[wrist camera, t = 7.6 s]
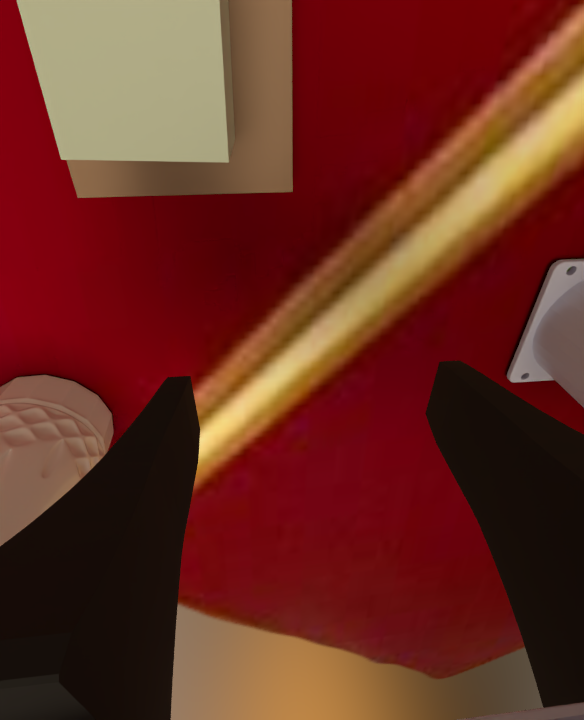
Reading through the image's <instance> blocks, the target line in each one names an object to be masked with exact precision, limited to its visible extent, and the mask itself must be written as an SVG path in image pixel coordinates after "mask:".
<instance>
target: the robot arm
mask: <svg viewBox="0 0 584 720" xmlns="http://www.w3.org/2000/svg"><path fill="white" fill-rule="evenodd" d="M570 267H571V269H570V270H569V271H568V272H567V270H568V268H570ZM524 373H525V374H524ZM507 378H508V379H509V380H510V381H511V382H530V381H546V380H555V381H556V382H557V383H558V384H559V385H560V386H562V387H563V388H564V389H565V390H566V391H567V392H568V393H569V394H570V395H571V396H572V397H573V398H574V399H575V400H576V401H577V402H578V403H579V404H580V405H582V406H583V407H584V259H565V260H558V261H556V262H555V263H553V264H552V265H551V267H550V269H549V271H548V274H547V276H546V279H545V281H544V283H543V286H542V288H541V291H540V293H539V296H538V298H537V301H536V303H535V306H534V308H533V311H532V313H531V316H530V318H529V321H528V323H527V326H526V328H525V331H524V333H523V336H522V338H521V341H520V343H519V346H518V348H517V350H516V353H515V355H514V358H513V360H512V363H511V365H510V368H509V370H508V373H507ZM426 416H427V419H428V422H429V425H430V428H431V430H432V433H433V436H434V438H435V441H436V443H437V445H438V447H439V449H440V451H441V453H442V455H443V457H444V459H445V460H446V462H447V464H448V466H449V468H450V470H451V472H452V474H453V475H454V477H455V479H456V481H457V483H458V485H459V486H460V488H461V490H462V492H463V494H464V496H465V497H466V499H467V501H468V503H469V505H470V507H471V509H472V510H473V513H474V515H475V517H476V519H477V521H478V523H479V525H480V527H481V530H482V532H483V534H484V537H485V539H486V542H487V544H488V546H489V549H490V551H491V554H492V556H493V559H494V561H495V564H496V566H497V569H498V572H499V574H500V577H501V579H502V582H503V585H504V587H505V590H506V592H507V595H508V598H509V601H510V604H511V607H512V609H513V612H514V615H515V618H516V621H517V624H518V627H519V630H520V632H521V635H522V638H523V642H524V645H525V648H526V651H527V654H528V658H529V661H530V664H531V667H532V670H533V673H534V677H535V680H536V683H537V687H538V690H539V693H540V697H541V701H542V704H543V707H544V708H539V709H532V710H524V711H517V712H509V713H503V714H495V715H488V716H480V717H473V718H466V719H459V720H584V435H583V434H581V433H580V432H578V431H576V430H574V429H572V428H570V427H568V426H566V425H565V424H563V423H561V422H559V421H558V420H556V419H554V418H552V417H551V416H549V415H547V414H545V413H544V412H542V411H540V410H539V409H537V408H535V407H534V406H532V405H530V404H529V403H527V402H525V401H524V400H522V399H521V398H519V397H517V396H516V395H514V394H513V393H511V392H510V391H508V390H506V389H505V388H503V387H502V386H500V385H499V384H497V383H496V382H494V381H492V380H491V379H489V378H488V377H486V376H485V375H483V374H481V373H480V372H478V371H477V370H475V369H474V368H472V367H470V366H469V365H467V364H465V363H463V362H461V361H444V362H439V366H438V370H437V373H436V377H435V381H434V384H433V388H432V392H431V396H430V399H429V403H428V407H427V410H426ZM199 438H200V426H199V421H198V416H197V410H196V405H195V399H194V394H193V389H192V383H191V378H190V376H183V377H168V378H167V379H166V380H165V381H164V382H163V384H162V385H161V386H160V388H159V389H158V391H157V392H156V393H155V395H154V396H153V397H152V399H151V400H150V401H149V403H148V404H147V405H146V407H145V408H144V409H143V411H142V412H141V413H140V414H139V416H138V417H137V418H136V419H135V421H134V422H133V423H132V424H131V426H130V427H129V428H128V429H127V431H126V432H125V433H124V434H123V435H122V436H121V438H120V439H119V440H118V441H117V442H116V443H115V444H114V445H113V446H112V448H111V449H110V450H109V451H108V452H107V453H106V454H105V455H104V457H103V458H102V459H101V460H100V461H99V462H98V463H97V464H96V465H95V466H94V467H93V468H92V469H91V470H90V471H89V472H88V473H87V474H86V475H85V476H84V477H83V478H82V479H81V480H80V481H79V482H78V483H77V484H76V485H74V486H73V487H72V488H71V489H70V490H69V491H68V492H67V493H66V494H65V495H63V496H62V497H61V498H60V499H59V500H58V501H56V502H55V503H54V504H53V505H52V506H50V507H49V508H48V509H47V510H46V511H44V512H43V513H42V514H41V515H40V516H38V517H37V518H36V519H35V520H34V521H33V522H31V523H30V524H29V525H28V526H26V527H25V528H24V529H22V530H21V531H20V532H18V533H17V534H16V535H14V536H13V537H12V538H11V539H9V540H8V541H7V542H5V543H4V544H3V545H1V546H0V720H170V718H171V697H172V677H173V661H174V645H175V629H176V615H177V603H178V590H179V579H180V567H181V556H182V548H183V541H184V534H185V529H186V524H187V518H188V513H189V508H190V502H191V497H192V492H193V486H194V481H195V475H196V470H197V464H198V454H199Z"/></svg>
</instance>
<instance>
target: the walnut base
mask: <svg viewBox="0 0 584 720" xmlns="http://www.w3.org/2000/svg"><path fill="white" fill-rule="evenodd" d="M228 5H229V26H230V47H231V67H232V88H233V109H234V129H235V141H234V145H233V149H232V152H231V156H230V160H229V163H226V162H169V161H112V160H67V163H68V167H69V170H70V173H71V177H72V180H73V183H74V186H75V190H76V193H77V196H78V198H88V197H124V196H160V195H196V194H233V193H269V192H293V184H292V0H228Z"/></svg>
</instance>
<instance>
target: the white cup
mask: <svg viewBox="0 0 584 720" xmlns="http://www.w3.org/2000/svg"><path fill="white" fill-rule="evenodd" d="M113 433H114V430H113V420H112V413H111V412H110V410H109V409H108V408H107V407H106V405H105V404H104V403H103V401H102V400H101V399H100V397H99V396H98V395H96V394H95V393H93V392H91V391H90V390H88V389H86V388H85V387H83V386H81V385H80V384H78V383H76V382H74V381H70V380H66V379H62V378H57V377H53V376H49V375H36V376H26V377H17V378H15V379H13V380H11V381H10V382H8V383H6V384H5V385H3V386H1V387H0V546H1V545H3V544H4V543H5V542H7V541H8V540H9V539H11V538H12V537H13V536H14V535H16V534H17V533H18V532H20V531H21V530H22V529H24V528H25V527H26V526H28V525H29V524H30V523H31V522H33V521H34V520H35V519H36V518H37V517H38V516H40V515H41V514H42V513H43V512H44V511H46V510H47V509H48V508H49V507H50V506H52V505H53V504H54V503H55V502H56V501H58V500H59V499H60V498H61V497H62V496H63V495H65V494H66V493H67V492H68V491H69V490H70V489H71V488H72V487H73V486H74V485H76V484H77V483H78V482H79V481H80V480H81V479H82V478H83V477H84V476H85V475H86V474H87V473H88V472H89V471H90V470H91V469H92V468H93V467H94V466H95V465H96V464H97V463H98V462H99V461H100V460H101V459H102V458H103V457H104V455H105V454H106V453H107V452H108V449H109V446H110V443H111V439H112V436H113Z"/></svg>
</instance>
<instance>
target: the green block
mask: <svg viewBox="0 0 584 720" xmlns="http://www.w3.org/2000/svg"><path fill="white" fill-rule="evenodd" d="M17 3H18V7H19V11H20V14H21V18H22V21H23V25H24V28H25V32H26V36H27V39H28V43H29V46H30V50H31V53H32V57H33V61H34V64H35V68H36V71H37V75H38V78H39V82H40V85H41V89H42V93H43V96H44V100H45V103H46V107H47V110H48V114H49V118H50V121H51V125H52V128H53V132H54V135H55V139H56V143H57V146H58V150H59V153H60V157H61V160H112V161H169V162H226V163H229V160H230V156H231V152H232V149H233V145H234V141H235V129H234V109H233V88H232V67H231V47H230V26H229V5H228V0H17Z"/></svg>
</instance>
